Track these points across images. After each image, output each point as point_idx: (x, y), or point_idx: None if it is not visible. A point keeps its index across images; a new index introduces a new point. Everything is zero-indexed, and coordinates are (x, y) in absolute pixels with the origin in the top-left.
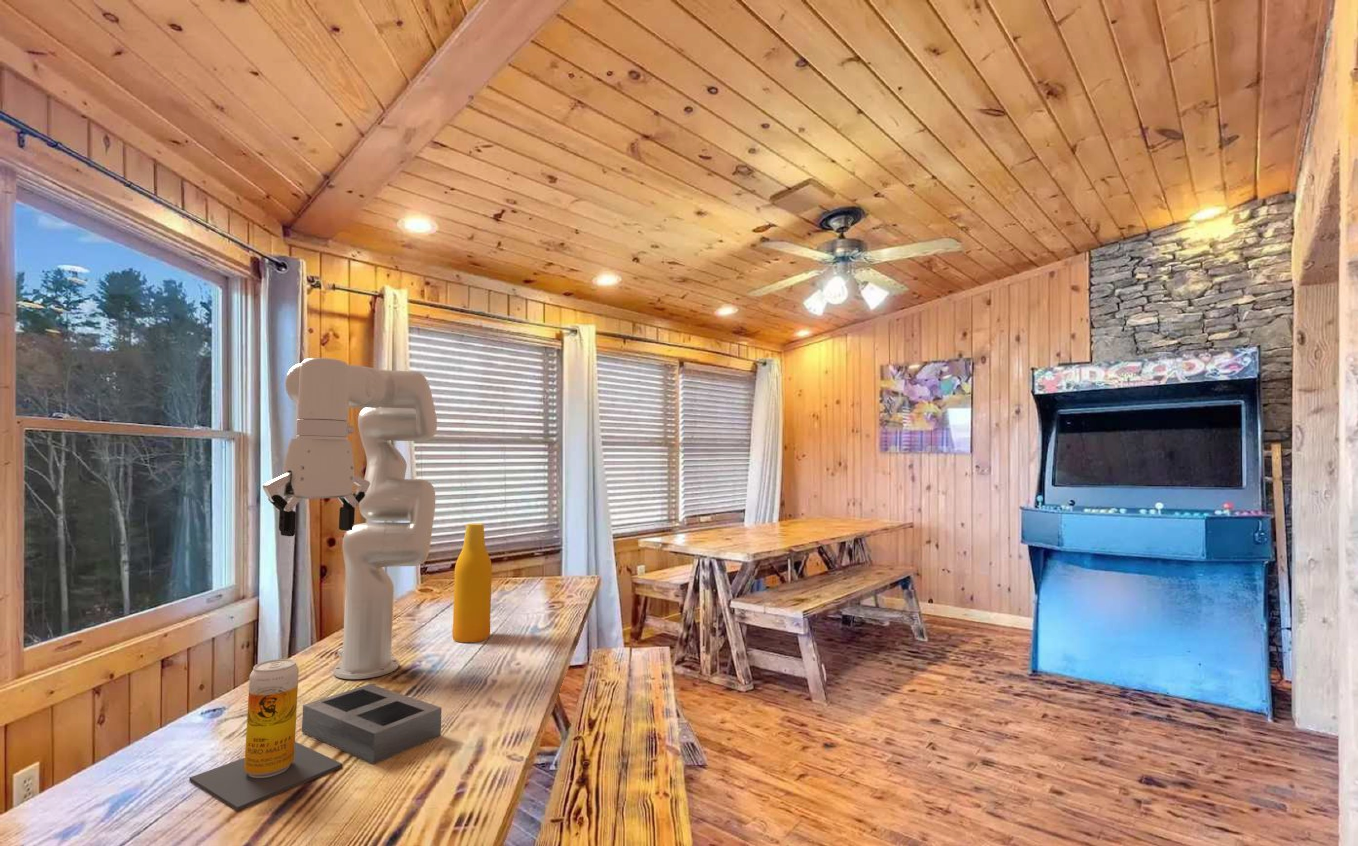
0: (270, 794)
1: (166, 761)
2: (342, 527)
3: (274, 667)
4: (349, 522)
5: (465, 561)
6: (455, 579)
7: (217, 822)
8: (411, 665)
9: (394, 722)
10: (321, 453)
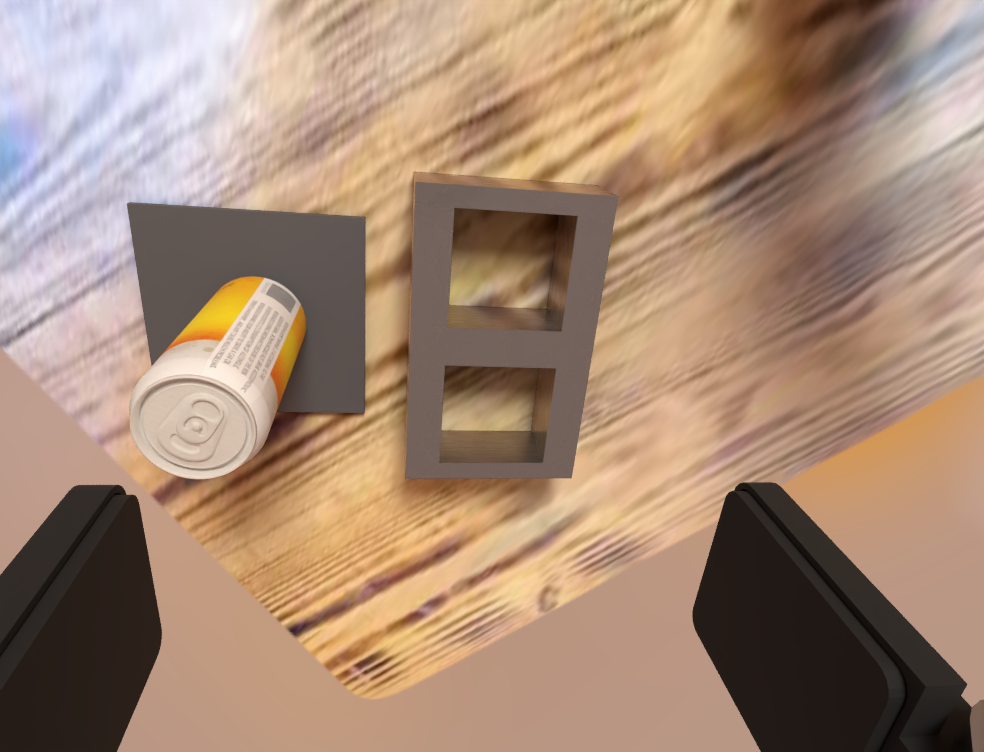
0: None
1: (117, 25)
2: (722, 555)
3: (187, 440)
4: (730, 685)
5: None
6: None
7: (123, 415)
8: None
9: (464, 465)
10: None
